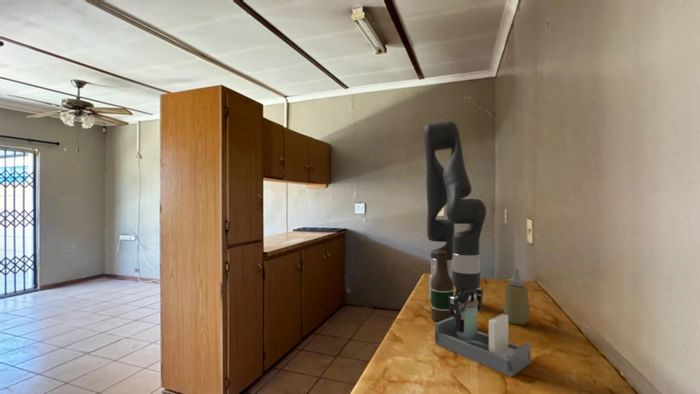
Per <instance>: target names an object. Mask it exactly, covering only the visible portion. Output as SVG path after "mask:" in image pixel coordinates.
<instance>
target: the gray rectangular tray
mask: <svg viewBox="0 0 700 394" xmlns="http://www.w3.org/2000/svg"><path fill="white" fill-rule="evenodd" d="M434 330H435V331H434V332H435V333H434V335H435V336H434V339H435V340H434V341H435V342H434V343H435V345H436V346H439V347H441V348H444V349H446V350H448V351H451V352H452V353H455V354H457V355H460V356H461V357H465V358H466V359H469V360H471V361H473V362H476V363H479V364H480V365H483V366H486V367H488V368H490V369H492V370H494V371H497V372H499V373H501V374H504V375H506V376H508V377H510V378H512V377H514V376H515V375H516V374H517V373H519V372H520V371H522V370H523V369H524V368H526V367H527V366H529V365H530V364H531V343H529V342H525V343H522V344H521V345H518V344H515V343H512V342H509V341H508V347H510V348H512V349H515V350H513V351H512V352H510V353H509V354H507V358H505V357H502V356H500V355H497V354H495V353H492V352H489V334H486V333H484V332H481V331H478V330H477V339H476V340H463V339H460V338H458V337H457V336H456V319H455V318H454V317H450V318H448V319H445V320H443V321H440V322H438V323H437V322H434Z"/></svg>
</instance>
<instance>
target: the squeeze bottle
mask: <svg viewBox="0 0 700 394" xmlns="http://www.w3.org/2000/svg"><path fill="white" fill-rule="evenodd" d="M504 291H505V292H504V293H505V294H504V300H503V301H504V302H503V312H504V313H503V314H505V315H508V323H511V324H514V325H518V326H519V325H526V324H527V323H528V320H529V318H530V315H531V311H530V303H529V302H530V301H529V293H528V288H527V287H526V286H525V280H524V279H522V278H521V275H520V271H519V268H514V269H513V273H512V277H511V278H509V279H508V284H507V285H505V290H504Z"/></svg>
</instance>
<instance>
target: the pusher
mask: <svg viewBox="0 0 700 394" xmlns="http://www.w3.org/2000/svg"><path fill="white" fill-rule="evenodd" d="M488 335H489V352H492V353H495V354H497V355H500V356H502V357H505V358H507V354H509V353H510V352H512V351H513V350H515V349H512V348H510V347H508V342H509V322H508V315H505V313H501V314H499V315H497V316H496V317H493V318H490V319H489V320H488Z"/></svg>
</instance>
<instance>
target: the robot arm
mask: <svg viewBox="0 0 700 394" xmlns="http://www.w3.org/2000/svg"><path fill="white" fill-rule="evenodd" d="M423 140H424V152H425V161H426V164H425V165H426V182H425V183H426V184H425V185H426V200H427V201H426V202H427V217H426V219H427V220H426V235H427V238H428V240H429V241H430V242H435V243H436V242H438V243H439V242H440V243H441V242H442V243H445V244H444V245H442V246H440V247H438V248H436V249H432V250H431V252H430V275H428V298H429V299H430V300H431V281H432V278H433V276H434V275H435V274H436V267H437V254H436V252H437V251H438V250H445V251H447V269H448V275H449V276H450V278H451V279H452V284H453V287H454V289H455V291H454V296H449V297H448V302H449V310H450V316H451V317H454V318H455V319H456V331H457V332H460V333H463V332H464V316H465V312H466V311H467V304H468V303H469V302H470V301H477V315H478V313H479V311H481V310H482V306H483V296H484V289H482V288H480V287H481V259H480V238H481V234H482V229H483V226H484V222H485V220H486V216H487V215H486V214H487V207H486V205H485V203H484V202H483V201H482V200H481V199H478V198H466V197H468V196H470V195H471V193H472V186H471V185H472V184H471V181H470V179H469V176H468V173H467V170H466V166H465V162H464V161H465V160H464V153H463V148H462V143H461V138H460V132H459V129H458V126H457V124H456V122H454V121H451V120H450V121H442V122H435V123H434V122H433V123H430V124H428V123H427V124H426V125H425V126H424V131H423ZM449 149H451V150H450V151H451V153H450V155H449V158H448V159H447V162H446V163H445V166H444V167H443V165H442V164H441V163H440V161H439V160H438V158H437V156H436V151H442V150H443V151H444V150H449ZM445 206H446V208H445V211H446V212H445V215H446V218H447V219H443V218H441V219H439V218H438V219H437V217H438V215H439V213H440V212H441V211H442V210H443V209H444V207H445ZM455 224H456V225H465V224H467V225H468V226H467V228H466V229H465V230H463V231H459V232H458V231H457V232H455V229H456V228H455ZM459 303H463V304H464V303H465V305H464V307H463V308H462V307H459ZM460 310H461V314H460Z"/></svg>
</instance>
